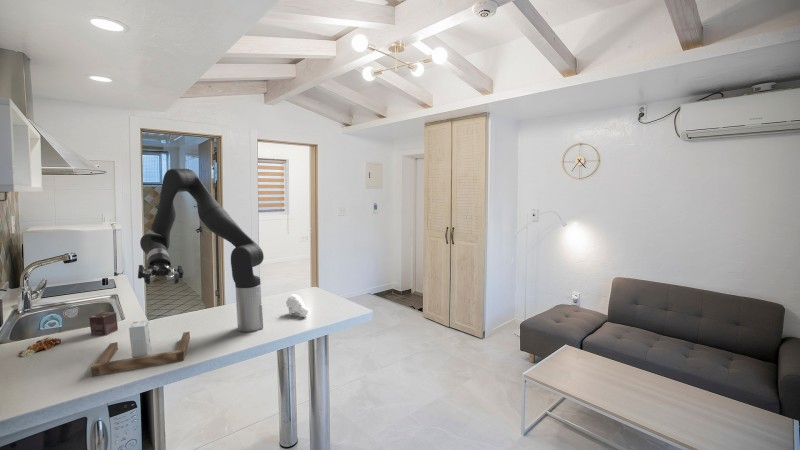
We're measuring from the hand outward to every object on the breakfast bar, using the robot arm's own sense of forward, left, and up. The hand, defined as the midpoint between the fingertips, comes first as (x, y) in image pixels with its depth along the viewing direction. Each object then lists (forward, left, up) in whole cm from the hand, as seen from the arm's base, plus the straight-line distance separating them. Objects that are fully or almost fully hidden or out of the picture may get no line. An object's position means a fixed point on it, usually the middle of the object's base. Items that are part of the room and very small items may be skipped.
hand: (162, 281), depth 136 cm
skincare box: (+5, +16, -22) cm, 28 cm away
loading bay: (+4, +12, -22) cm, 25 cm away
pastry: (+40, -10, -22) cm, 47 cm away
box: (+23, -19, -22) cm, 37 cm away
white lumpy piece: (-49, -6, -22) cm, 54 cm away
